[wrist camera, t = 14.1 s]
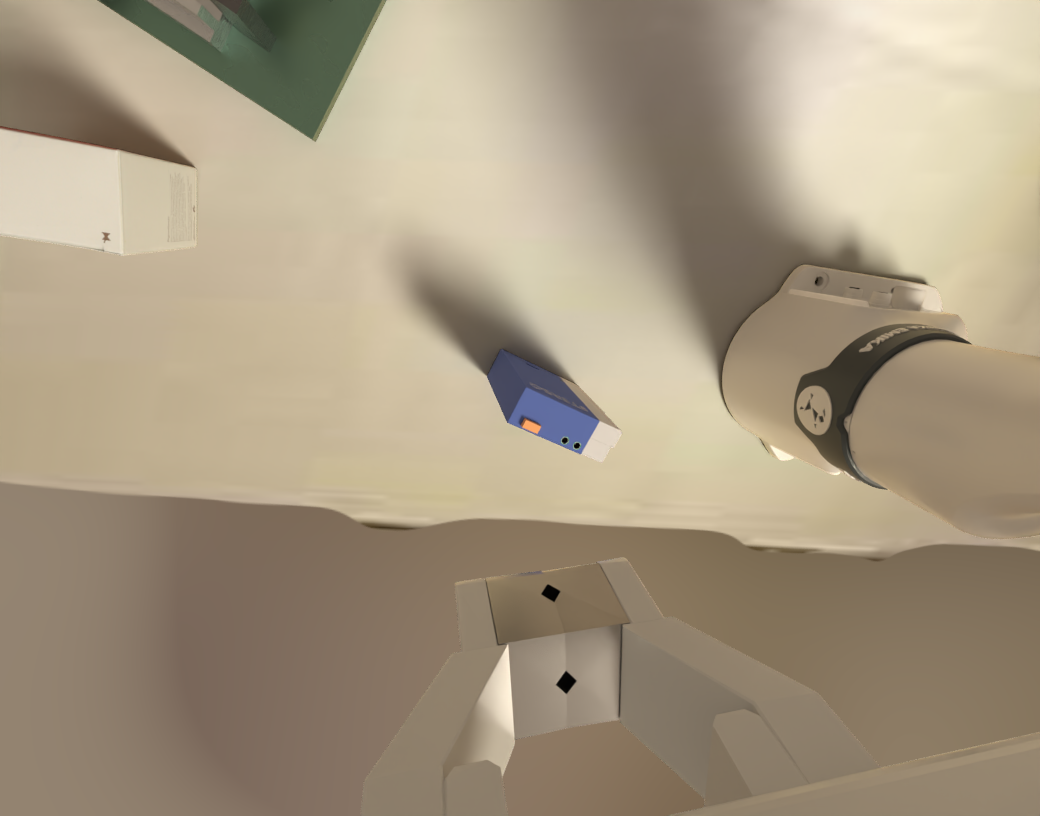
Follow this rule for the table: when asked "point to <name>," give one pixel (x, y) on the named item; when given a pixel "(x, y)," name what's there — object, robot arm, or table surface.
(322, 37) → the board
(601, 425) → the walkman
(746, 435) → the table surface
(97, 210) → the small box
